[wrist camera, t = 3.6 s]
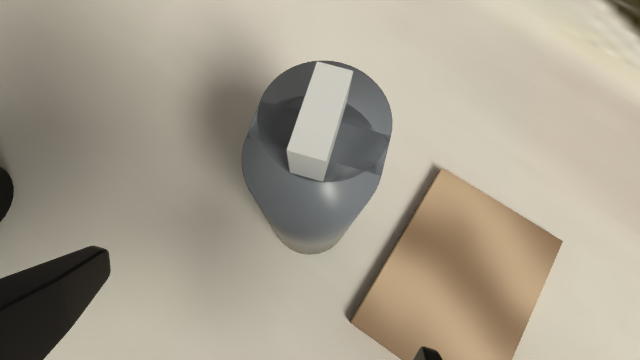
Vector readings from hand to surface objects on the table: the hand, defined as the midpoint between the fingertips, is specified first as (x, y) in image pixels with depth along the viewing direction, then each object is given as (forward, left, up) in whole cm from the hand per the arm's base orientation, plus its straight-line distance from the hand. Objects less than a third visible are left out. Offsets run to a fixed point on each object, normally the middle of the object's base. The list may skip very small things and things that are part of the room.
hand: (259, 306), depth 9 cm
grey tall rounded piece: (+3, +5, -12) cm, 13 cm away
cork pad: (+11, -2, -12) cm, 16 cm away
